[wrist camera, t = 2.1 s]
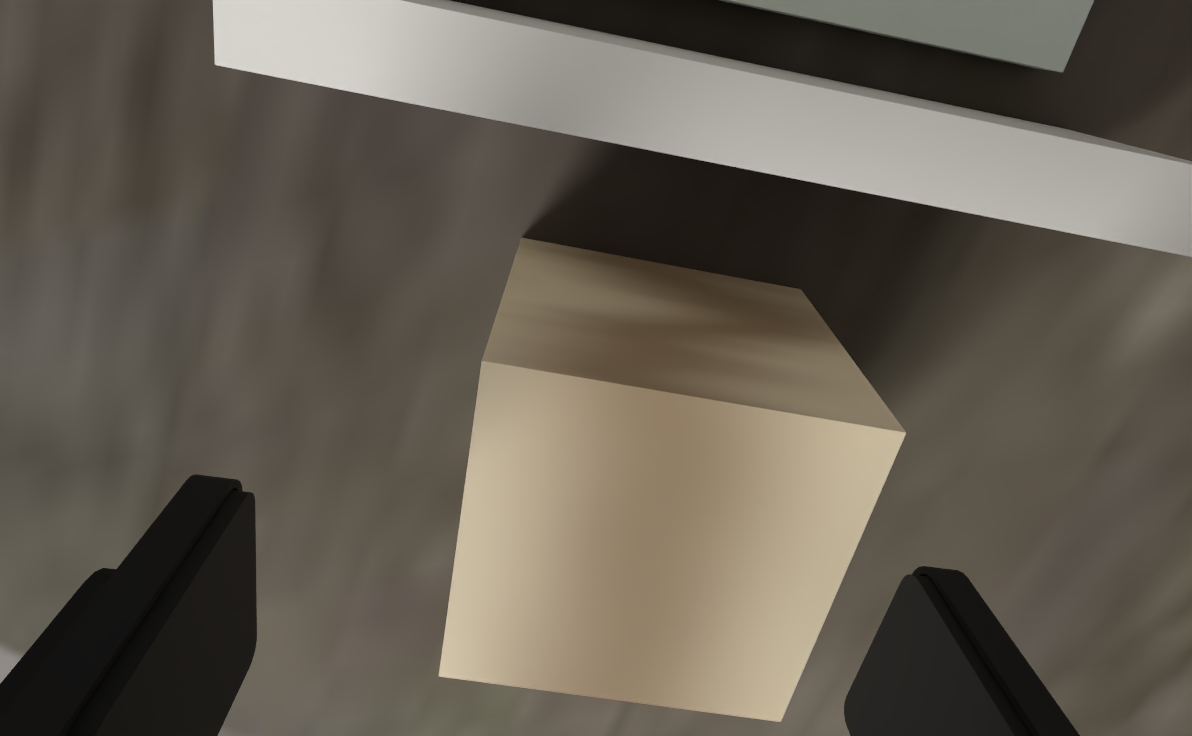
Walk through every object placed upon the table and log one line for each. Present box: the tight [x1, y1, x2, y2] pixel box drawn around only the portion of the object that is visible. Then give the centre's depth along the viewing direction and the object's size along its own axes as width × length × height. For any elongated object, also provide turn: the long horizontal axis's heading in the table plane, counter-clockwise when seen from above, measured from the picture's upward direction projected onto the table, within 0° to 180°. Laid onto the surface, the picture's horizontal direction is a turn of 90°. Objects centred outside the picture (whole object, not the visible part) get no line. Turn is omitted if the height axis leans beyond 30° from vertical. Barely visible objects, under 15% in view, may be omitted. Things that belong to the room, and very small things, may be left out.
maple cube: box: [439, 238, 906, 722], centre depth 14 cm, size 6×6×6 cm
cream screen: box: [213, 0, 1192, 257], centre depth 12 cm, size 14×1×4 cm, turn 79°
